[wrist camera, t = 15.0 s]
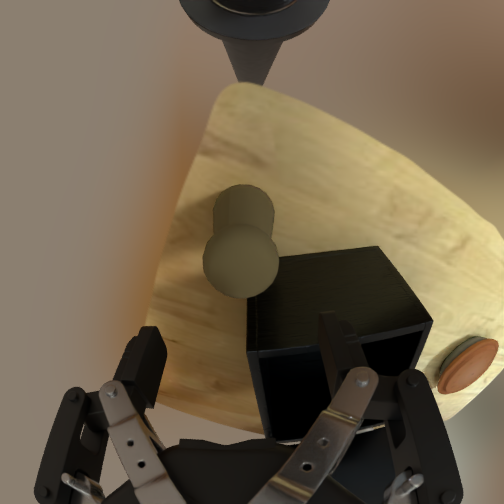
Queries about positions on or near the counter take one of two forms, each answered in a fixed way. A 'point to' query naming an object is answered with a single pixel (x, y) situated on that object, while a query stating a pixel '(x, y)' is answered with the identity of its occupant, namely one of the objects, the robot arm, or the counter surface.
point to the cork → (241, 243)
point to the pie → (466, 364)
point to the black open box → (306, 332)
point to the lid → (366, 466)
